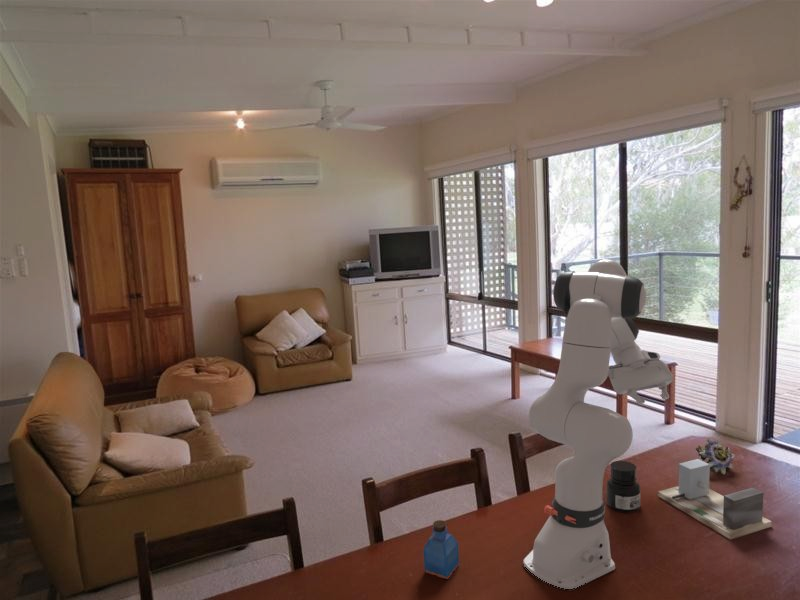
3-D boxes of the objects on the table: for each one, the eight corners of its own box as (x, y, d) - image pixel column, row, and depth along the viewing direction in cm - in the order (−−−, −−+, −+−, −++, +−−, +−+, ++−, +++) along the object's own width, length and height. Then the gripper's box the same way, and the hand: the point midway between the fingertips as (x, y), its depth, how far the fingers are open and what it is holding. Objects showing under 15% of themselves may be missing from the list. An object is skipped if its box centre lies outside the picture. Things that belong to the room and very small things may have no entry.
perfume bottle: (447, 580, 131) (445, 533, 129) (424, 572, 134) (422, 527, 132) (459, 565, 136) (457, 520, 134) (436, 558, 139) (434, 514, 138)
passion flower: (721, 489, 174) (713, 468, 168) (690, 470, 183) (682, 449, 177) (744, 465, 176) (737, 443, 170) (713, 447, 185) (705, 425, 179)
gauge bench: (658, 496, 163) (658, 465, 161) (695, 486, 167) (695, 456, 165) (730, 539, 140) (731, 504, 139) (771, 526, 144) (772, 492, 143)
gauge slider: (667, 496, 158) (667, 466, 157) (697, 487, 162) (698, 458, 160) (682, 505, 153) (683, 474, 152) (713, 496, 157) (714, 466, 155)
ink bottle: (620, 516, 153) (620, 476, 151) (598, 502, 161) (598, 463, 159) (648, 508, 156) (648, 468, 154) (626, 494, 164) (626, 456, 163)
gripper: (608, 361, 170) (631, 401, 162) (662, 352, 176) (686, 390, 169) (599, 371, 175) (620, 411, 167) (651, 362, 181) (674, 400, 174)
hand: (654, 401), depth 168 cm, fingers open, 8 cm apart
